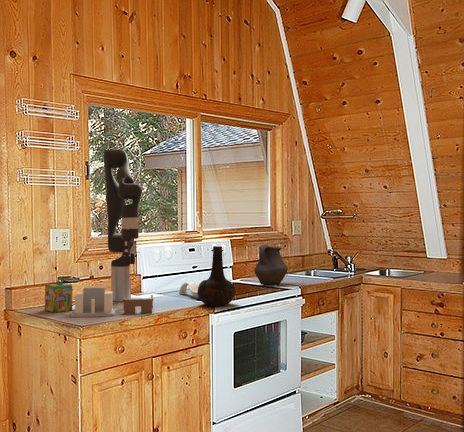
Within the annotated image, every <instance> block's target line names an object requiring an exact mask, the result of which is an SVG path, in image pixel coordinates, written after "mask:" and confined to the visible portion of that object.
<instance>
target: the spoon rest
mask: <svg viewBox="0 0 464 432" xmlns="http://www.w3.org/2000/svg"><path fill="white" fill-rule="evenodd" d="M187 287H188V288H189V291H190V293H191V295H192V296H193V297H194V298H195V299H199V297H198V287H199V283H196V282H184V283H183V284H181V286H180V288H179V291H178V295H186V294H187V289H188V288H187Z"/></svg>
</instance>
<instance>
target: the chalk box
mask: <svg viewBox="0 0 464 432" xmlns="http://www.w3.org/2000/svg"><path fill="white" fill-rule="evenodd" d="M44 311H48V312H51V313H61V312H62V313H63V312H73V284H69V283H68V284H67V283H64V277H60V276H59V277H57V280H56V283H53V284H52V283H51V284H45V285H44Z"/></svg>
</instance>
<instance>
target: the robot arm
mask: <svg viewBox="0 0 464 432" xmlns="http://www.w3.org/2000/svg"><path fill="white" fill-rule="evenodd" d="M103 165H104V166H103V168H104V174H105V176H104V177H105V194H106V212H107V248H108V251H109V252H110V253H122V254H121V256H119V257H118V258H115V259H112V260H111V261H110V282H111V283H110V291H112V302H123V296H124V295H125V299H132V295H131V294H132V291H131V290H132V289H131V287H132V282H131V265H135V264H136V255H137V241H136V240H138V239H139V217H138V216H139V205H140V199H141V196H142V193H143V189H142V186H141V185H140V184H139V183H135V182H134V178H133V175H132V173H131V170H130V162H129V158H128V154H127V152H126V151H125V150H124V149H121V148H120V149H105V150H104V152H103ZM112 169H117V172H116V175H115V176H114V175H113V170H112ZM126 200H132V201H131V203H126ZM120 219H121V223H120V225H121V227H120V228H121V229H120V231H121V233H116V231H117V230H116V228H117V226H118V223H119V221H120Z"/></svg>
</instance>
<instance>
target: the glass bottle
mask: <svg viewBox="0 0 464 432" xmlns="http://www.w3.org/2000/svg"><path fill="white" fill-rule="evenodd" d="M210 251H211V252H212V261H211V262H212V263H211V271H210V274H209V278H207V279H204V280H202V281H201V282H200V283H198V285H199V287H198V297H199V298H198V299H199V300H200V302H202V303H203V304H204V305H207V306H209V307H225V306H227V305H229V304H230V303H232V301H233V300H234V298H235V297H236V296H235V295H236V288H235V285H234V284H233V283H232V281H230V280H228V279H227V278H226V276H225V272H224V262H223V252H225V250H224V249H223V246H217V245H214V246H212V249H211V250H210Z"/></svg>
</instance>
